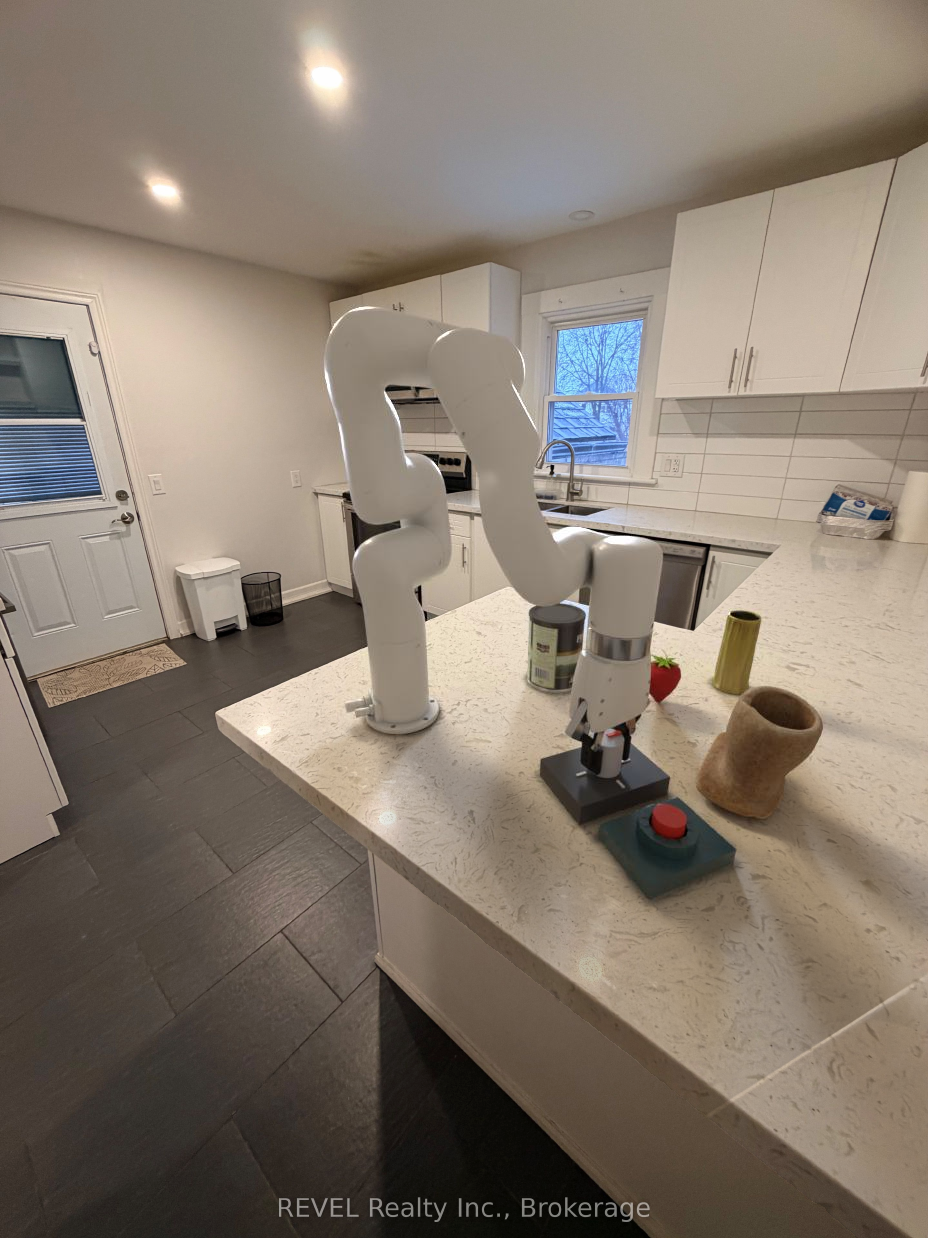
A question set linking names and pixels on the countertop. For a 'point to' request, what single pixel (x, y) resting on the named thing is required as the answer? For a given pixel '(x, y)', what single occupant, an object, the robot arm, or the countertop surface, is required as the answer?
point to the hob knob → (611, 753)
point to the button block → (665, 849)
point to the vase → (737, 652)
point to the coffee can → (554, 646)
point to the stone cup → (758, 751)
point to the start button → (668, 821)
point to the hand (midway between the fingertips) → (604, 760)
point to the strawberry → (663, 677)
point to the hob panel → (602, 784)
